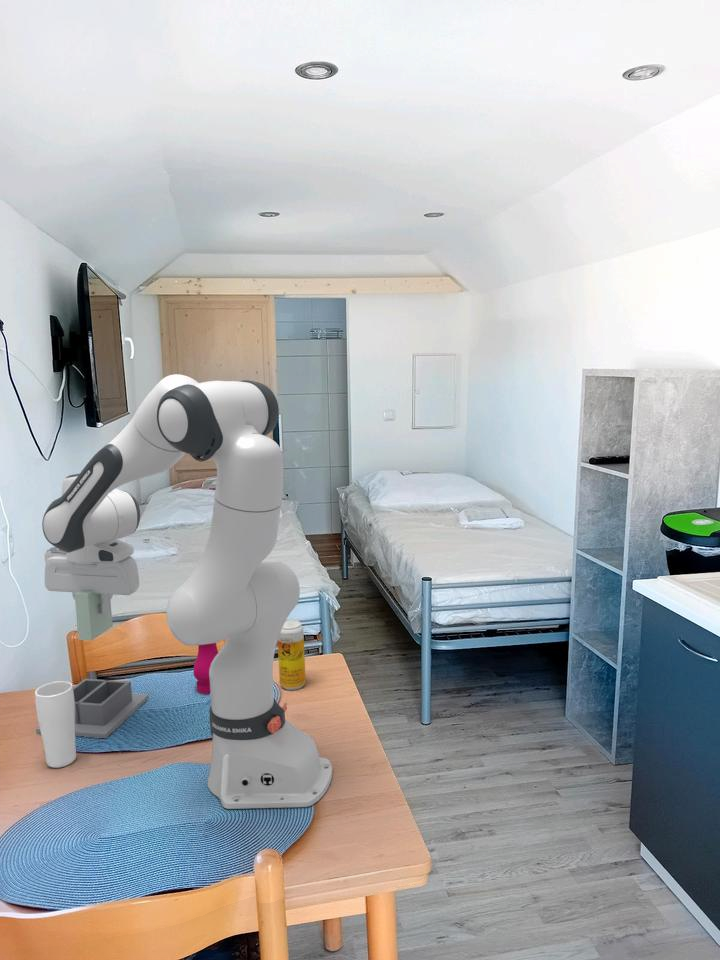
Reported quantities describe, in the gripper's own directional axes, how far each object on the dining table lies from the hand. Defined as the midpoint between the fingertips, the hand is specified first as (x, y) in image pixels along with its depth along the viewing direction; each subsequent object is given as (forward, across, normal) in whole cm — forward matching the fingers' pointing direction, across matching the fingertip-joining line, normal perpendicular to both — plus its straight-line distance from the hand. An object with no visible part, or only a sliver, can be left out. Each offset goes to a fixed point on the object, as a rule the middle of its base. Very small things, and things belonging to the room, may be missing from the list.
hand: (94, 612), depth 149 cm
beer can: (+24, +37, +21) cm, 48 cm away
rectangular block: (+5, 0, 0) cm, 5 cm away
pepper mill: (+24, +18, +17) cm, 34 cm away
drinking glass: (+24, +2, -17) cm, 30 cm away
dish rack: (+24, -2, +1) cm, 24 cm away
